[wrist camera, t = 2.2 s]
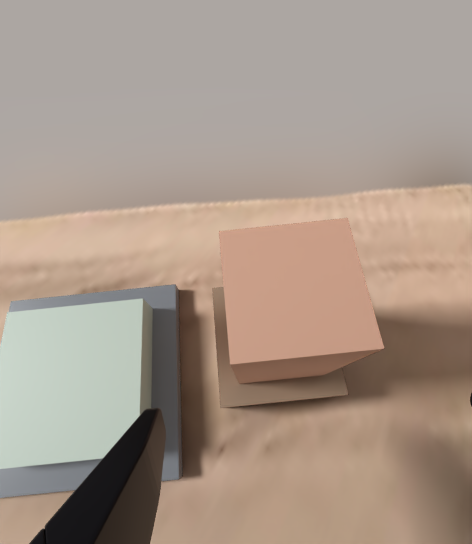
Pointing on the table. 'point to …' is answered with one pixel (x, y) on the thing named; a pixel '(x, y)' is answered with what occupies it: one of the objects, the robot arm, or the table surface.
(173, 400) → the baseplate
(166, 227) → the table surface
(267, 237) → the terracotta brick
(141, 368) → the foundation slab
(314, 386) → the walnut stand
